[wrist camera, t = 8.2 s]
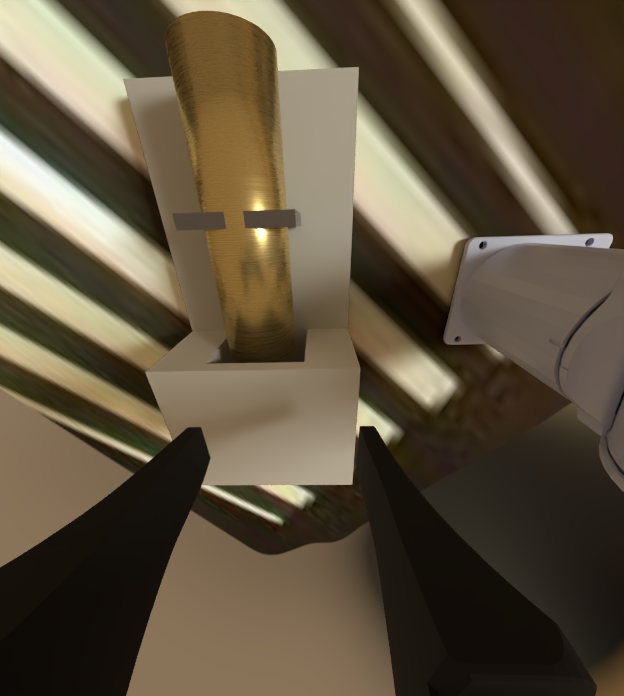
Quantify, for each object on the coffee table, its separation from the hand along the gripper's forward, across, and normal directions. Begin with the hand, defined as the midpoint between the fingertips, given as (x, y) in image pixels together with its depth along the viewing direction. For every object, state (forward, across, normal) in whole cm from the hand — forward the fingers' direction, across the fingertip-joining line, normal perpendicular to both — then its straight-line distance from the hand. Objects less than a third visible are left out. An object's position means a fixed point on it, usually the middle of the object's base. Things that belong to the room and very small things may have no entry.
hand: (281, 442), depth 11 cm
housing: (+10, +2, -4) cm, 11 cm away
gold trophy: (+9, +2, -8) cm, 12 cm away
